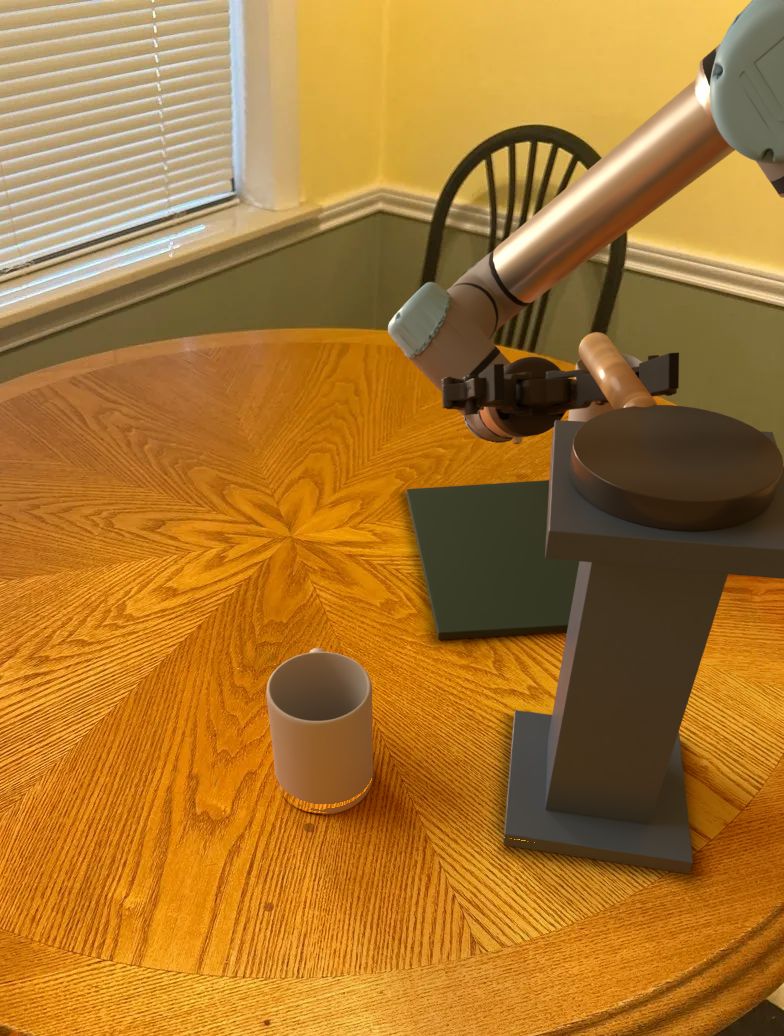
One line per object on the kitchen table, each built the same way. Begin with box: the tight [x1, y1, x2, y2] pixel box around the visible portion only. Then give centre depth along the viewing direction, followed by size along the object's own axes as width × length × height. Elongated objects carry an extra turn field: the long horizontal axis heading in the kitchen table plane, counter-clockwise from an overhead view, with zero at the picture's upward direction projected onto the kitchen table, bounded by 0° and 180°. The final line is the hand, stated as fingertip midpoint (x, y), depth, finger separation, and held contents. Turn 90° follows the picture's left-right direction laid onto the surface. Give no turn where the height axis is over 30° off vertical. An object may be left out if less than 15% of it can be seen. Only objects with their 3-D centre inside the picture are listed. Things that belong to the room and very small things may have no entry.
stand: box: [502, 419, 784, 875], centre depth 65 cm, size 14×14×30 cm
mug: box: [266, 647, 375, 815], centre depth 75 cm, size 12×8×11 cm
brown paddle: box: [569, 331, 784, 531], centre depth 59 cm, size 24×12×2 cm, turn 2°
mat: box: [405, 479, 579, 641], centre depth 101 cm, size 28×18×1 cm, turn 2°
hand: (586, 376), depth 69 cm, fingers open, 13 cm apart
